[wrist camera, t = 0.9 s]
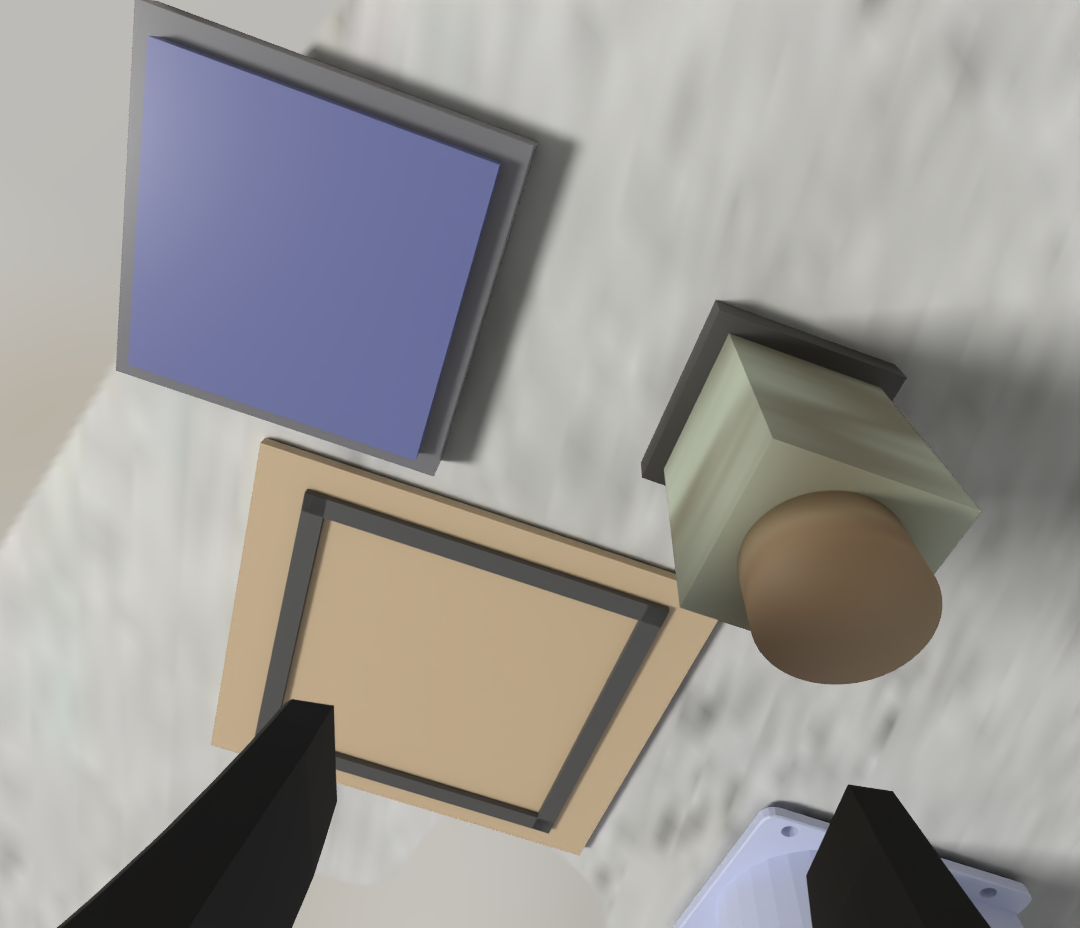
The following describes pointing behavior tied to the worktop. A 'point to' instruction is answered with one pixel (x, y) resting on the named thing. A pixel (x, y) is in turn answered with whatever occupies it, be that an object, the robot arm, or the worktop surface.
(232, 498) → the worktop surface
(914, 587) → the stamp
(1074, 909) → the worktop surface
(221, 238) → the ink pad
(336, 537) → the sheet
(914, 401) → the worktop surface
